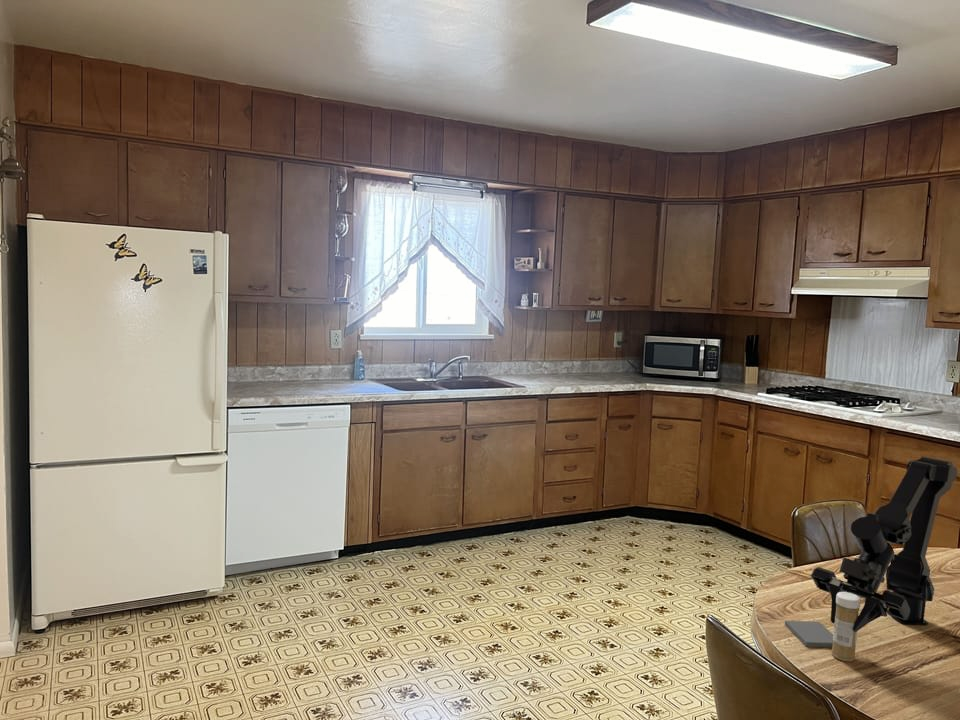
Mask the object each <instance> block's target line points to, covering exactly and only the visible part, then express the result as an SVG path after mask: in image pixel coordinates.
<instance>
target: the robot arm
mask: <svg viewBox="0 0 960 720" xmlns="http://www.w3.org/2000/svg"><path fill="white" fill-rule="evenodd" d="M957 476H958V469H957V467H956V466H954V465H953V462H952V461H950V460H943V459H939V458H935V457H934V458H933V457H929V456H921V457H920V458H918V459H910V460H909V462H908V463H907V465H906V472H905V474H904V476H903V477H902V479H901V480H900V482H899V484H898V485H897V488H896V489H895V491H894V493H893V495H892V497H891V498H890V500H889V502H888V503H886V504H885V505H882V506H879V507H878V508H877V509H876V511H875V512H874V513H870V512H868V513H867V514H866V516H861V517H859V518H856V519H855V520H854V521H852V522H851V524H850V530H851V534H852V536H853V538H854V540H855V542H856V545H857V547H858V548H859V549H860V550H861V552H860V554H859V555H858V558H856V557H855V558H854V559H851V558H847V557H843V558H842V561H841V564H840V568H839V572H840V573H843V575H842V576H843V578H844V580H847V581H844V580H841V578H838V577H837V576H836V574H835V572H834V571H832V570H828V569H825V568H823V567H819V566H818V567H817V566H816V568H814V569H813V570H812V572H811V574H810V577H811V580H813V582H814V584H815V586H816V588H817V589H819V590H821V591H823V592H825V593H828V594H830V596H831V608H830V622H831V624H834V623H835V615H836V595H837V593H839V592H848V593H852V594H855V595H857V596H859V597H860V598H863V599H865V601H864V604H863V605H864V606H863V608H861V611H860V613H858V618H857V620H856V622H855V624H854V627H853V631H854V632H857V633H858V631H860V630H861V629H862V628H863V627H865V626H866V625H868V624H870V623H871V622H873V621H875V620H876V619H879V618H880V617H885V618H886V617H888V614H889V615H890V616H891V617H892V618H894V619H895V620H896V621H897V622H899V623H901V624H902V625H926V626H927V625H929V622H928V621H927V619H925V612H926V602H932V601H933V599H934V595H935V587H934V585H933V582H932V579H931V577H930V574H931V568H930V565H929V563H928V561H927V558H926V556H927V555H926V554H927V551H928V547H929V543H930V539H931V535H932V532H933V526H934V522H935V519H936V515H937V512H938V511H937V510H938V508H939V503H940V499H941V498H942V497H943V496H944V495H945V494H946V493H948V492H949V491H951V488H952V486H953V485H952V484H953V483H954V482H955V481H956V479H957ZM891 544H895V545H898V546H900V545H903V548H902V549H901V551H900V552H898V553H897V554H896V553H895V551H894V550H895V549H894V548H893V547H892V545H891ZM885 581H886V589H885V590H884V591H883V592H882V593H879V592H878V590H879V588H880V586H881V583H882V584H884V583H885Z"/></svg>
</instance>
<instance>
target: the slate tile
mask: <svg viewBox="0 0 960 720" xmlns="http://www.w3.org/2000/svg"><path fill="white" fill-rule="evenodd" d="M784 626H785V627H786V628H787V629H788V630H789V631H790V632H791V633H792V634H793V635H794V637H796V638H797V639H798V641H800V642H801V644H803V646H804V647H805V648H806V647H807V648H809V647H810V648H833V634H834V633H833V632H831V631H830V630H829V629H828V628H827V627H826V626H825V625H823V624H822V622H821V621H811V620H810V621H809V620H805V621H804V620H784Z"/></svg>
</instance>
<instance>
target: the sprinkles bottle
mask: <svg viewBox="0 0 960 720" xmlns="http://www.w3.org/2000/svg"><path fill="white" fill-rule="evenodd" d="M860 608H861V597H859V596H857V595H855V594H852V593H848V592H839V593H837V595H836V615H835V622H834V623H833V633H832V634H833V647H831V648H832V649H831V655H832V656H833V657H834V658H836V659H837V660H839V661H843V662H853V661H855V660H856V646H857V641H858V638H857V637H858V631H857V632H854V631H853V627H854V624H855V622H856V620H857V618H858V616H859V614H860V613H859V610H860Z"/></svg>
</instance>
